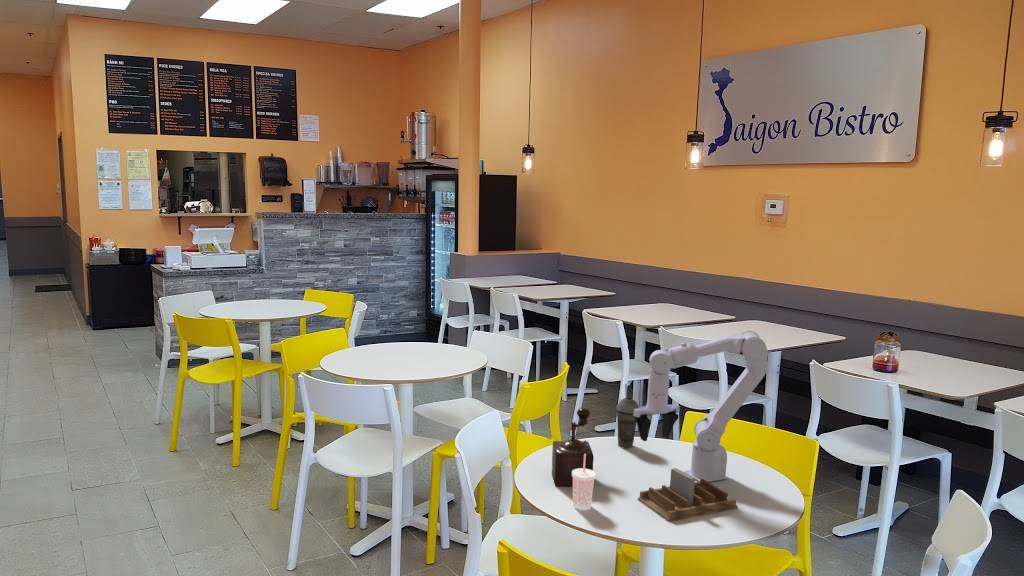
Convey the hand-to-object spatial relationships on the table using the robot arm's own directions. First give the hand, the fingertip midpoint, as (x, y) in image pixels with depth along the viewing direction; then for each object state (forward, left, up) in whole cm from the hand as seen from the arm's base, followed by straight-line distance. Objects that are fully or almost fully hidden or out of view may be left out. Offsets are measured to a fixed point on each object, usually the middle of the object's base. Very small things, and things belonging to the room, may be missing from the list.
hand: (654, 438), depth 206 cm
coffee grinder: (+24, -5, -10) cm, 27 cm away
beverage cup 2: (-4, -20, -10) cm, 23 cm away
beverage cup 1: (+31, +13, -10) cm, 35 cm away
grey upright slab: (+6, +21, -9) cm, 24 cm away
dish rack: (+4, +21, -10) cm, 24 cm away
